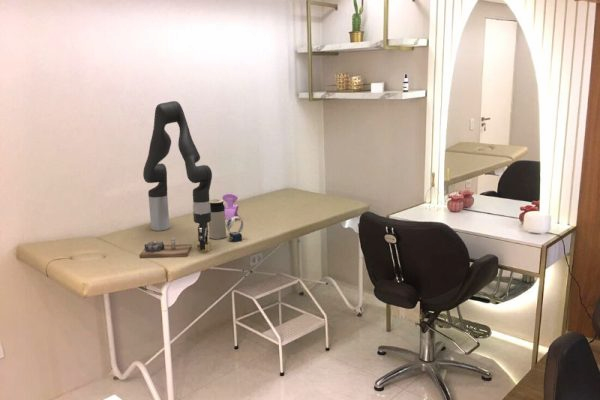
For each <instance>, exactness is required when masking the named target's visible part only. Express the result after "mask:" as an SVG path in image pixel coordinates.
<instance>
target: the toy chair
mask: <svg viewBox="0 0 600 400" xmlns="http://www.w3.org/2000/svg"><path fill="white" fill-rule="evenodd" d="M221 197H222V198H221V199H223V200H224V201H223V202H225V203H226V205H224V206H225V220H229V219H230V218H233V217H234V216H239V214H238V211H239V204H234V203H236V201H238V197H239V196H238V195H236V194H235V193H232V192H231V193H225V194H223V195H222V196H221Z"/></svg>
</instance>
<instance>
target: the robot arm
mask: <svg viewBox="0 0 600 400" xmlns="http://www.w3.org/2000/svg"><path fill="white" fill-rule="evenodd" d="M153 119H154V123H153V130H152V135H151V139H150V143H149V149H148V153H147V158H146V161H145V163H144V168H143V172H142V174H143V175H142V176H143V177H142V178H143V180H144V181H145V183H148V184H153V183H157V185H155V187H152V188H151V189H149V190H148V192H147V195H148V205H149V206H148V207H149V217H150V229H151V230H152V231H154V232H155V231H157V232H160V231H161V232H162V231H167V230H168V229H170V227H171V226H170V215H169V214H170V213H169V200H168V171H167V166H166V165H165V164H164V163H160V162H162V161H163V160H164V159H165V158H166V157H168V155H169V154H170V150H171V147H172V139H171V135H169V134H168V132H167V131H166V130H165V127H166V125H168V124H172V123H176V124H177V126H178V127H179V136H178V143H177V146H178V151H179V152H180V155H181V156H182V159H183V161H184V165H185V166H184V167H185V171H186V176H187V178H188V180H189V182H191V183H192V184H198V186H197V187H194V188H193V189H192V202H193V203H192V210H193V211H192V213H193V222H194V223H196V224H198V226H197V241H198V243H199V242H200V250H205V241H209V240H208V239H209V238H208V236H209V222H210V221H211V208H210V201H209V200H210V188H211V184H212V179H213V173H212V169H211V168H210V166H209V165H206V164H201V165H196V163H198V162H199V161H200V159H201V156H200V155H201V154H200V153H199V151H198V148H197V147H196V145H195V142H194V141H193V138H192V135H191V132H190V128H189V125H188V122H187V119H186V115H185V113H184V110H183V107H182V105H181V103H180V102H178V101H177V100H176V101H175V100H173V101H172V100H171V101H167V102H162V103H159V104H157V105H156V107H155V110H154V118H153Z"/></svg>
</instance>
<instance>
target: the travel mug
mask: <svg viewBox="0 0 600 400" xmlns="http://www.w3.org/2000/svg"><path fill="white" fill-rule="evenodd" d="M209 201H210V208H211V221H210V222H208V237H209V238H210V239H212V240H221V239H224V238H226V237H227V231H226V230H227V227H226V224H227V222H225V217H226V214H225V206H226V205H225V204H224V202H225V201H224V200H223V199H222V198H213V199H209Z"/></svg>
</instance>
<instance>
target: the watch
mask: <svg viewBox="0 0 600 400" xmlns="http://www.w3.org/2000/svg"><path fill="white" fill-rule="evenodd" d="M236 219H237V220H240V222H241V223H240V226H239V228H238V230H237V231H234V232H231V229H232V227H233V226H234V220H236ZM244 227H245V226H244V220H243V219H242V218H240V217H233V218H230V219H229V220H228V222H226V230H227V231H228V232H229V240H230V241H231V242H232V243H239V242H243V235H242V233H241V232H242V231H243V230H244V229H243V228H244Z"/></svg>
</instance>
